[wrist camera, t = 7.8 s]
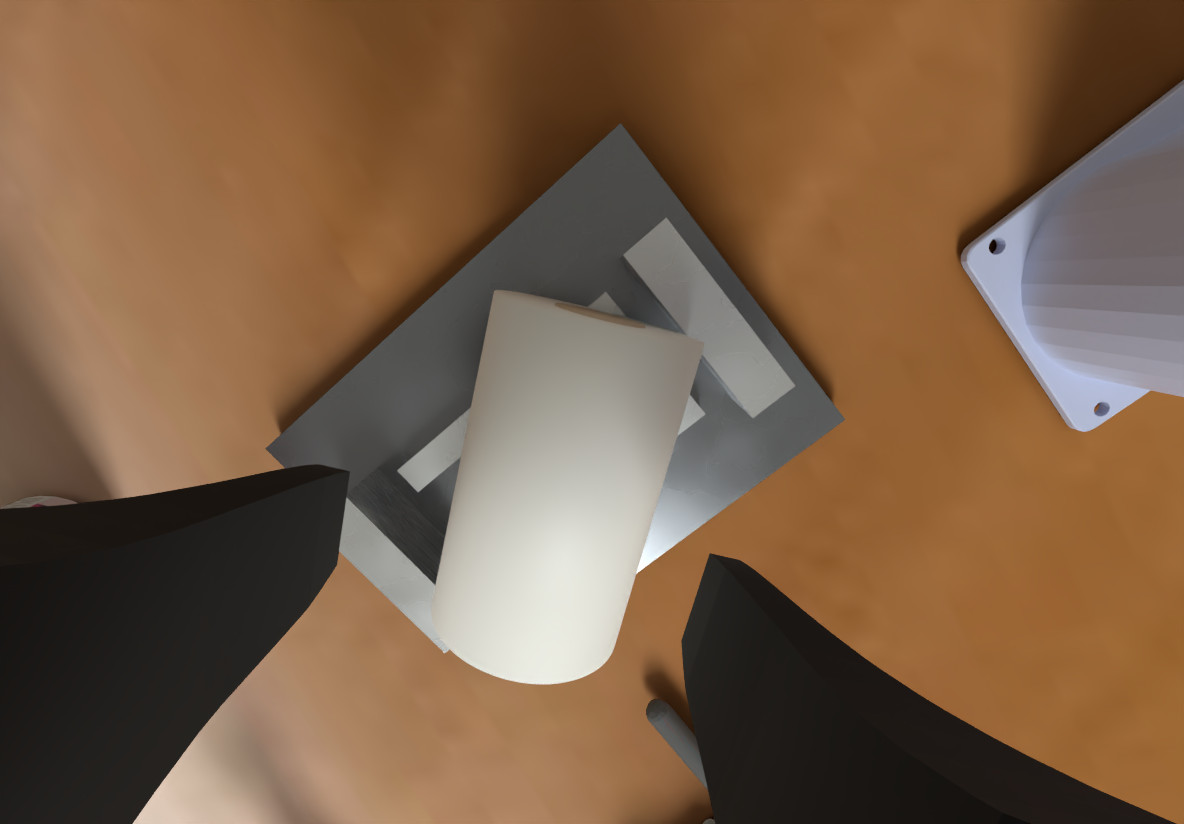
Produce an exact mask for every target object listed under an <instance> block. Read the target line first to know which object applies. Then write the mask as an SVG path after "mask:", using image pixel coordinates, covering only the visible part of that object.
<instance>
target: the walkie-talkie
mask: <svg viewBox="0 0 1184 824" xmlns="http://www.w3.org/2000/svg"><path fill="white" fill-rule="evenodd" d="M646 715H647V718H648V720H649V721H650V723H651V724H652V725H653V726H654V727H655V728H656V730H657V731H658V732H659V733H660V734H661V736H662V737H663V738H664V739H665V740H666V741H667V743H668V744H669V745H670V746H671V747H672V748H673V750H674V751H675V752H676V753H677V754H678V755H679V757H680V758H681V759H682V760H683V761H684V762H685V764H686V765H687V766H688V767H689V768H690V770H691V771H692V772H693V773H694V774H695V775H696V777H697V778H698V779H699V780H700V781H701V782H702V784H703V785H704V786H705V787H706V788H707V789H708V787H707V783H706V779H705V774H704V770H703V766H702V761H701V757H700V752H699V748H698V744H697V739H696V736H695V735H694V734H693V732H692V731H691V730H690V729H689V728H688V727H687V725H686V724H685V723H684V722H683V721H682V719H681V718H680V717H679V716H678V715H677V714H676V712H675V711H674V710H673V709H672V708H671V707H670V705H669V704H668V703H666V702H664V701H662V700H660V699H653V700H651V701H650V702H649V704H648V706H647V709H646ZM703 824H715V821H714V820H713V819H707V820H705V821H704V822H703Z"/></svg>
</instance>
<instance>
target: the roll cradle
mask: <svg viewBox="0 0 1184 824" xmlns="http://www.w3.org/2000/svg"><path fill="white" fill-rule="evenodd" d="M494 290H507V291H514V292H520V293H526V294H531V295H536V296H541V297H546V298H551V299H556V300H560V301H565V302H569V303H573V304H578V305H582V306H586V307H590V308H594V309H598V310H602V311H606V312H610V313H614V314H617V315H621V316H625V317H629V318H632V319H636V320H639V321H643V322H646V323H650V324H653V325H657V326H660V327H663V328H666V329H670V330H673V331H676V332H679V333H682V334H685V335H687V336H690V337H693V338H695V339H698V340H700V341H702V342H703V343H704V344H705V345H704V348H703V351H702V355H701V358H700V362H699V365H698V368H697V372H696V375H695V378H694V382H693V385H692V388H691V392H690V395H689V398H688V402H687V405H686V409H685V412H684V415H683V419H682V422H681V425H680V429H679V432H678V435H677V439H676V442H675V445H674V449H673V452H672V455H671V459H670V462H669V466H668V469H667V472H666V476H665V479H664V482H663V486H662V489H661V492H660V496H659V499H658V502H657V506H656V509H655V513H654V516H653V519H652V523H651V526H650V529H649V533H648V536H647V539H646V543H645V546H644V549H643V553H642V556H641V559H640V563H639V566H638V570H637V573H638V572H639V571H640V570H642V569H643V568H644V567H646V566H647V565H648V564H650V563H651V562H653V561H654V560H655V559H657V558H658V557H659V556H661V555H662V554H663V553H665V552H666V551H667V550H669V549H670V548H672V547H673V546H674V545H676V544H677V543H678V542H680V541H681V540H682V539H684V538H685V537H686V536H688V535H689V534H691V533H692V532H693V531H695V530H696V529H697V528H699V527H700V526H701V525H703V524H704V523H705V522H707V521H708V520H710V519H711V518H712V517H714V516H715V515H716V514H718V513H719V512H720V511H722V510H723V509H724V508H726V507H727V506H729V505H730V504H731V503H733V502H734V501H735V500H737V499H738V498H739V497H741V496H742V495H743V494H745V493H746V492H748V491H749V490H750V489H752V488H753V487H754V486H756V485H757V484H758V483H760V482H761V481H762V480H764V479H765V478H767V477H768V476H769V475H771V474H772V473H773V472H775V471H776V470H777V469H779V468H780V467H781V466H783V465H784V464H786V463H787V462H788V461H790V460H791V459H792V458H794V457H795V456H796V455H798V454H799V453H800V452H802V451H803V450H805V449H806V448H807V447H809V446H810V445H811V444H813V443H814V442H815V441H817V440H818V439H819V438H821V437H822V436H824V435H825V434H826V433H828V432H829V431H830V430H832V429H833V428H834V427H836V426H837V425H838V424H840V423H841V422H843V421H844V420H845V419H844V417H843V416H842V415H841V413H840V412H839V411H838V409H837V408H836V407H835V406H834V404H833V403H832V402H831V400H830V399H829V398H828V396H827V395H826V394H825V392H824V391H823V390H822V388H821V387H820V386H819V384H818V383H817V382H816V380H815V379H814V378H813V376H812V375H811V374H810V372H809V371H808V370H807V369H806V367H805V366H804V365H803V363H802V362H801V361H800V359H799V358H798V357H797V355H796V354H795V353H794V351H793V350H792V349H791V347H790V346H789V345H788V343H787V342H786V341H785V339H784V338H783V337H782V335H781V334H780V333H779V332H778V330H777V329H776V328H775V326H774V325H773V324H772V322H771V321H770V320H769V318H768V317H767V316H766V314H765V313H764V312H763V310H762V309H761V308H760V306H759V305H758V304H757V302H756V301H755V300H754V298H753V297H752V296H751V294H750V293H749V292H748V291H747V289H746V288H745V287H744V285H743V284H742V283H741V281H740V280H739V279H738V277H737V276H736V275H735V273H734V272H733V271H732V269H731V268H730V267H729V265H728V264H727V263H726V261H725V260H724V259H723V257H722V256H721V255H720V254H719V252H718V251H717V250H716V248H715V247H714V246H713V244H712V243H711V242H710V240H709V239H708V238H707V236H706V235H705V234H704V232H703V231H702V230H701V228H700V227H699V226H698V224H697V223H696V222H695V220H694V219H693V218H692V217H691V215H690V214H689V213H688V211H687V210H686V209H685V207H684V206H683V205H682V203H681V202H680V201H679V199H678V198H677V197H676V195H675V194H674V193H673V191H672V190H671V189H670V187H669V186H668V185H667V183H666V182H665V181H664V180H663V178H662V177H661V176H660V174H659V173H658V172H657V170H656V169H655V168H654V166H653V165H652V164H651V162H650V161H649V160H648V158H647V157H646V156H645V154H644V153H643V152H642V150H641V149H640V148H639V146H638V145H637V144H636V143H635V141H634V140H633V139H632V137H631V136H630V135H629V133H628V132H627V131H626V129H625V128H624V127H623V125H622V124H621V123H620V124H619V125H618V126H617V127H616V128H615V129H614V130H612V131H611V132H610V133H609V134H608V135H607V136H606V137H605V138H604V139H603V140H602V141H600V142H599V143H598V144H597V145H596V146H595V147H594V148H593V149H592V150H591V151H590V152H588V153H587V154H586V155H585V156H584V157H583V158H582V159H581V160H580V161H579V162H578V163H576V164H575V165H574V166H573V167H572V168H571V169H570V170H569V171H568V172H567V173H566V174H564V175H563V176H562V177H561V178H560V179H559V180H558V181H557V182H556V183H555V184H554V185H552V186H551V187H550V188H549V189H548V190H547V191H546V192H545V193H544V194H543V195H542V196H540V197H539V198H538V199H537V200H536V201H535V202H534V203H533V204H532V205H531V206H530V207H528V208H527V209H526V210H525V211H524V212H523V213H522V214H521V215H520V216H519V217H518V218H516V219H515V220H514V221H513V222H512V223H511V224H510V225H509V226H508V227H507V228H506V229H504V230H503V231H502V232H501V233H500V234H499V235H498V236H497V237H496V238H495V239H494V240H492V241H491V242H490V243H489V244H488V245H487V246H486V247H485V248H484V249H483V250H482V251H480V252H479V253H478V254H477V255H476V256H475V257H474V258H473V259H472V260H471V261H470V262H469V263H467V264H466V265H465V266H464V267H463V268H462V269H461V270H460V271H459V272H458V273H457V274H455V275H454V276H453V277H452V278H451V279H450V280H449V281H448V282H447V283H446V284H445V285H443V286H442V287H441V288H440V289H439V290H438V291H437V292H436V293H435V294H434V295H433V296H431V297H430V298H429V299H428V300H427V301H426V302H425V303H424V304H423V305H422V306H421V307H419V308H418V309H417V310H416V311H415V312H414V313H413V314H412V315H411V316H410V317H409V318H407V319H406V320H405V321H404V322H403V323H402V324H401V325H400V326H399V327H398V328H397V329H395V330H394V331H393V332H392V333H391V334H390V335H389V336H388V337H387V338H386V339H385V340H383V341H382V342H381V343H380V344H379V345H378V346H377V347H376V348H375V349H374V350H373V351H371V352H370V353H369V354H368V355H367V356H366V357H365V358H364V359H363V360H362V361H361V362H359V363H358V364H357V365H356V366H355V367H354V368H353V369H352V370H351V371H350V372H349V373H347V374H346V375H345V376H344V377H343V378H342V379H341V380H340V381H339V382H338V383H337V384H335V385H334V386H333V387H332V388H331V389H330V390H329V391H328V392H327V393H326V394H325V395H323V396H322V397H321V398H320V399H319V400H318V401H317V402H316V403H315V404H314V405H313V406H311V407H310V408H309V409H308V410H307V411H306V412H305V413H304V414H303V415H302V416H301V417H299V418H298V419H297V420H296V421H295V422H294V423H293V424H292V425H291V426H290V427H289V428H287V429H286V430H285V431H284V432H283V433H282V434H281V435H280V436H279V437H278V438H277V439H275V440H274V441H273V442H272V443H271V444H270V445H269V446H268V447H267V448H266V450H267V451H268V452H269V453H270V454H271V455H272V456H273V457H274V458H276V459H277V460H278V461H279V462H280V463H281V464H282V465H283V466H284V467H285V468H290V467H296V466H303V465H313V464H320V465H325V466H329V467H333V468H338V469H342V470H347V471H350V476H349V483H348V490H347V497H346V504H345V511H344V518H343V525H342V532H341V540H340V547H339V551H340V552H341V553H342V554H343V555H344V556H345V557H346V558H347V559H348V560H349V561H350V562H351V563H352V564H353V565H354V566H355V567H356V568H357V569H358V570H359V571H360V572H361V573H362V574H363V575H364V576H365V577H367V578H368V579H369V580H370V581H371V582H372V583H373V584H374V585H375V586H376V587H377V588H378V589H379V590H380V591H381V592H382V593H383V594H384V595H385V596H386V597H387V598H388V599H389V600H390V601H391V602H392V603H393V604H395V605H396V606H397V607H398V608H399V609H400V610H401V611H402V612H403V613H404V614H405V615H406V616H407V617H408V618H409V619H410V620H411V621H412V622H413V623H414V624H415V625H416V626H417V627H418V628H419V629H420V630H421V631H422V632H424V633H425V634H426V635H427V636H428V637H429V638H430V639H431V640H432V641H433V642H434V643H435V644H436V645H437V646H438V647H439V648H440V649H441V650H442V651H443V652H444V653H446V652H447V651H448V650H450V649H449V648H448V647H447V646H446V644H445V643H444V642H443V641H442V640H441V638H440V637H439V635H438V633H437V632H436V629H435V627H434V624H433V621H432V616H431V605H432V600H433V595H434V590H435V585H436V580H437V575H438V570H439V565H440V560H441V555H442V550H443V545H444V540H445V535H446V530H447V525H448V520H449V515H450V510H451V505H452V500H453V495H454V490H455V485H456V480H457V475H458V470H459V465H460V460H461V455H462V450H463V444H464V439H465V434H466V429H467V424H468V419H469V414H470V409H471V404H472V399H473V394H474V389H475V384H476V379H477V374H478V369H479V364H480V359H481V354H482V349H483V344H484V339H485V334H486V329H487V324H488V319H489V314H490V309H491V304H492V299H493V294H494Z"/></svg>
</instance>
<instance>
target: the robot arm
mask: <svg viewBox="0 0 1184 824" xmlns="http://www.w3.org/2000/svg"><path fill="white" fill-rule="evenodd" d="M993 239H994V240H995V241H996V243H997V247H996V250H995V251H994V253H993V254H992V253H991V252H990V251H989V244H990V242H991V241H992V240H993ZM961 264H962V266H963V268H964V270H965V271H966V273H967V274H968V276H969V277H970V279H971V280H972V282H973V283H974V285H975V286H976V288H977V289H978V291H979V292H980V294H981V295H982V297H983V298H984V300H985V301H986V303H987V304H988V306H989V307H990V309H991V310H992V312H993V314H994V315H995V317H996V318H997V320H998V321H999V323H1000V324H1001V326H1002V327H1003V329H1004V330H1005V332H1006V333H1007V335H1008V336H1009V338H1010V339H1011V341H1012V342H1013V344H1014V345H1015V347H1016V348H1017V350H1018V351H1019V353H1020V354H1021V356H1022V357H1023V359H1024V360H1025V362H1026V363H1027V365H1028V366H1029V368H1030V369H1031V371H1032V372H1033V374H1034V376H1035V377H1036V379H1037V380H1038V382H1039V383H1040V385H1041V386H1042V388H1043V389H1044V391H1045V392H1046V394H1047V395H1048V397H1049V398H1050V400H1051V401H1052V403H1053V404H1054V406H1055V407H1056V409H1057V410H1058V412H1059V413H1060V415H1061V416H1062V418H1063V419H1064V421H1065V422H1066V424H1067V425H1068V426H1069V427H1070V428H1073V429H1076V430H1079V431H1082V432H1084V431H1090V430H1092V429H1094V428H1096V427H1097V426H1099V425H1100V424H1102V423H1103V422H1105V421H1106V420H1108V419H1109V418H1111V417H1112V416H1113V415H1115V414H1116V413H1118V412H1119V411H1121V410H1122V409H1124V408H1125V407H1127V406H1128V405H1130V404H1131V403H1133V402H1134V401H1136V400H1137V399H1139V398H1140V397H1142V396H1143V395H1145V394H1146V393H1148V392H1149V391H1151V390H1153V391H1157V392H1162V393H1167V394H1172V395H1177V396H1182V397H1184V80H1183V81H1181V82H1180V83H1179V84H1178V85H1176V86H1175V87H1174V88H1172V89H1171V90H1170V91H1168V92H1167V93H1166V94H1164V95H1163V96H1162V97H1161V98H1159V99H1158V100H1157V101H1155V102H1154V103H1153V104H1151V105H1150V106H1149V107H1148V108H1146V109H1145V110H1144V111H1142V112H1141V113H1140V114H1138V115H1137V116H1136V117H1134V118H1133V119H1132V120H1131V121H1129V122H1128V123H1127V124H1125V125H1124V126H1123V127H1121V128H1120V129H1119V130H1117V131H1116V132H1115V133H1114V134H1112V135H1111V136H1110V137H1108V138H1107V139H1106V140H1104V141H1103V142H1102V143H1100V144H1099V145H1098V146H1097V147H1095V148H1094V149H1093V150H1091V151H1090V152H1089V153H1087V154H1086V155H1085V156H1084V157H1082V158H1081V159H1080V160H1078V161H1077V162H1076V163H1074V164H1073V165H1072V166H1070V167H1069V168H1068V169H1067V170H1065V171H1064V172H1063V173H1061V174H1060V175H1059V176H1057V177H1056V178H1055V179H1053V180H1052V181H1051V182H1050V183H1048V184H1047V185H1046V186H1044V187H1043V188H1042V189H1040V190H1039V191H1038V192H1036V193H1035V194H1034V195H1033V196H1031V197H1030V198H1029V199H1027V200H1026V201H1025V202H1023V203H1022V204H1021V205H1020V206H1018V207H1017V208H1016V209H1014V210H1013V211H1012V212H1010V213H1009V214H1008V215H1006V216H1005V217H1004V218H1003V219H1001V220H1000V221H999V222H997V223H996V224H995V225H993V226H992V227H991V228H989V229H988V230H987V231H986V232H984V233H983V234H982V235H980V236H979V237H978V238H976V239H975V240H974V241H973V242H971V243H970V244H969V245H968V246H967V247H966V248H965V249H964V250H963V252H962V255H961ZM1098 403H1099V409H1098V410H1097V411H1096V412H1094V408H1095V406H1096V405H1097V404H1098ZM349 476H350V471H347V470H342V469H338V468H333V467H329V466H325V465H320V464H313V465H303V466H296V467H290V468H285V469H280V470H275V471H270V472H265V473H260V474H255V475H251V476H246V477H241V478H236V479H231V480H227V481H222V482H217V483H212V484H206V485H200V486H195V487H189V488H184V489H178V490H172V491H167V492H161V493H156V494H150V495H143V496H136V497H129V498H121V499H114V500H105V501H95V502H86V503H77V504H67V505H56V506H40V507H22V508H5V509H0V824H132V823H133V822H134V821H135V819H136V818H137V816H138V815H139V814H140V812H141V811H142V809H143V808H144V806H145V805H146V804H147V802H148V801H149V799H150V798H151V797H152V795H153V794H154V792H155V791H156V790H157V788H158V787H159V786H160V784H161V783H162V781H163V780H164V779H165V777H166V776H167V775H168V773H169V772H170V771H171V769H172V768H173V767H174V765H175V764H176V763H177V761H178V760H179V759H180V757H181V756H182V754H183V753H184V752H185V750H186V749H187V748H188V746H189V745H190V744H191V742H192V741H193V740H194V738H195V737H196V736H197V734H198V733H199V732H200V730H201V729H202V728H203V727H204V725H205V724H206V723H207V722H208V721H209V719H210V718H211V717H212V716H213V715H214V713H215V712H216V711H217V710H218V709H219V707H220V706H221V705H222V704H223V703H224V702H225V701H226V699H227V698H228V697H229V696H230V695H231V694H232V693H233V692H234V691H235V689H236V688H237V687H238V686H239V685H240V684H241V683H242V682H243V681H244V679H245V678H246V677H247V676H248V675H249V674H250V673H251V672H252V670H253V669H254V668H255V667H256V666H257V665H258V664H259V663H260V662H261V660H262V659H263V658H264V657H265V656H266V655H267V654H268V653H269V652H270V650H271V649H272V648H273V647H274V646H275V645H276V644H277V643H278V642H279V640H280V639H281V638H282V637H283V636H284V635H285V634H286V633H287V631H288V630H289V629H290V628H291V627H292V626H293V625H294V623H295V622H296V621H297V620H298V619H299V618H300V617H301V615H302V614H303V613H304V612H305V611H306V610H307V608H308V607H309V606H310V605H311V603H312V602H313V600H314V599H315V597H316V596H317V594H318V593H319V592H320V590H321V589H322V587H323V586H324V584H325V583H326V581H327V579H328V578H329V576H330V575H331V573H332V572H333V570H334V569H335V567H336V566H337V561H338V554H339V547H340V540H341V532H342V525H343V518H344V511H345V504H346V497H347V490H348V483H349ZM682 655H683V669H684V679H685V689H686V694H687V698H688V703H689V708H690V712H691V717H692V721H693V726H694V731H695V735H696V739H697V744H698V748H699V752H700V757H701V761H702V766H703V770H704V774H705V779H706V783H707V787H708V792H709V796H710V801H711V805H712V810H713V815H714V821H715V824H1176V823H1173V822H1171V821H1169V820H1166V819H1164V818H1162V817H1160V816H1157V815H1155V814H1153V813H1150V812H1148V811H1146V810H1143V809H1141V808H1139V807H1136V806H1134V805H1132V804H1129V803H1127V802H1125V801H1122V800H1120V799H1118V798H1115V797H1113V796H1111V795H1108V794H1106V793H1104V792H1102V791H1099V790H1097V789H1095V788H1093V787H1091V786H1089V785H1086V784H1084V783H1082V782H1080V781H1078V780H1076V779H1074V778H1072V777H1070V776H1068V775H1066V774H1064V773H1062V772H1060V771H1058V770H1056V769H1054V768H1052V767H1049V766H1047V765H1045V764H1043V763H1041V762H1039V761H1037V760H1035V759H1033V758H1031V757H1029V756H1027V755H1025V754H1023V753H1021V752H1019V751H1018V750H1016V749H1014V748H1012V747H1010V746H1008V745H1006V744H1004V743H1002V742H1000V741H998V740H997V739H995V738H993V737H991V736H989V735H987V734H986V733H984V732H982V731H980V730H979V729H977V728H975V727H973V726H972V725H970V724H968V723H966V722H964V721H963V720H961V719H959V718H957V717H956V716H954V715H952V714H950V713H949V712H947V711H945V710H943V709H942V708H940V707H938V706H937V705H935V704H934V703H932V702H930V701H929V700H927V699H925V698H924V697H922V696H920V695H919V694H917V693H916V692H914V691H913V690H911V689H910V688H908V687H907V686H905V685H904V684H902V683H901V682H899V681H898V680H896V679H894V678H893V677H891V676H890V675H888V674H887V673H885V672H884V671H882V670H881V669H879V668H878V667H877V666H875V665H874V664H872V663H871V662H869V661H868V660H867V659H865V658H864V657H862V656H861V655H860V654H858V653H857V652H856V651H854V650H853V649H852V648H850V647H849V646H848V645H846V644H845V643H844V642H843V641H841V640H840V639H839V638H837V637H836V636H835V635H833V634H832V633H831V632H829V631H828V630H827V629H826V628H824V627H823V626H822V625H821V624H819V623H818V622H817V621H816V620H814V619H813V618H812V617H811V616H810V615H808V614H807V613H806V612H805V611H804V610H802V609H801V608H800V607H799V606H797V605H796V604H795V603H794V602H793V601H792V600H790V599H789V598H788V597H787V596H786V595H784V594H783V593H782V592H781V591H780V590H778V589H777V588H776V587H775V586H774V585H772V584H771V583H770V582H769V581H768V580H766V579H765V578H764V577H763V576H761V575H760V574H759V573H758V572H756V571H755V570H754V569H752V568H751V567H750V566H748V565H747V564H745V563H744V562H742V561H740V560H737V559H732V558H728V557H724V556H719V555H715V554H710V555H709V558H708V561H707V564H706V567H705V570H704V573H703V576H702V579H701V582H700V585H699V588H698V592H697V595H696V598H695V601H694V604H693V607H692V610H691V613H690V616H689V619H688V622H687V625H686V629H685V632H684V635H683V638H682Z"/></svg>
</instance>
